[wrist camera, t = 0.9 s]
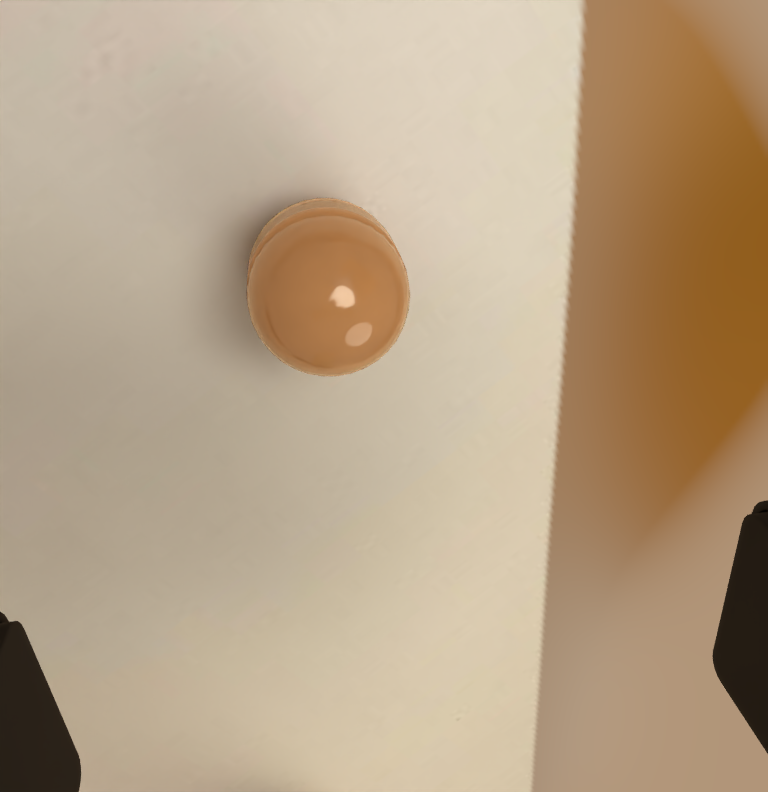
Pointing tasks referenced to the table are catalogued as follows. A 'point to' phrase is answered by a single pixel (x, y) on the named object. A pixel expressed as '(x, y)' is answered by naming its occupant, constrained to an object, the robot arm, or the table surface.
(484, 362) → the table surface
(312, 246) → the egg
